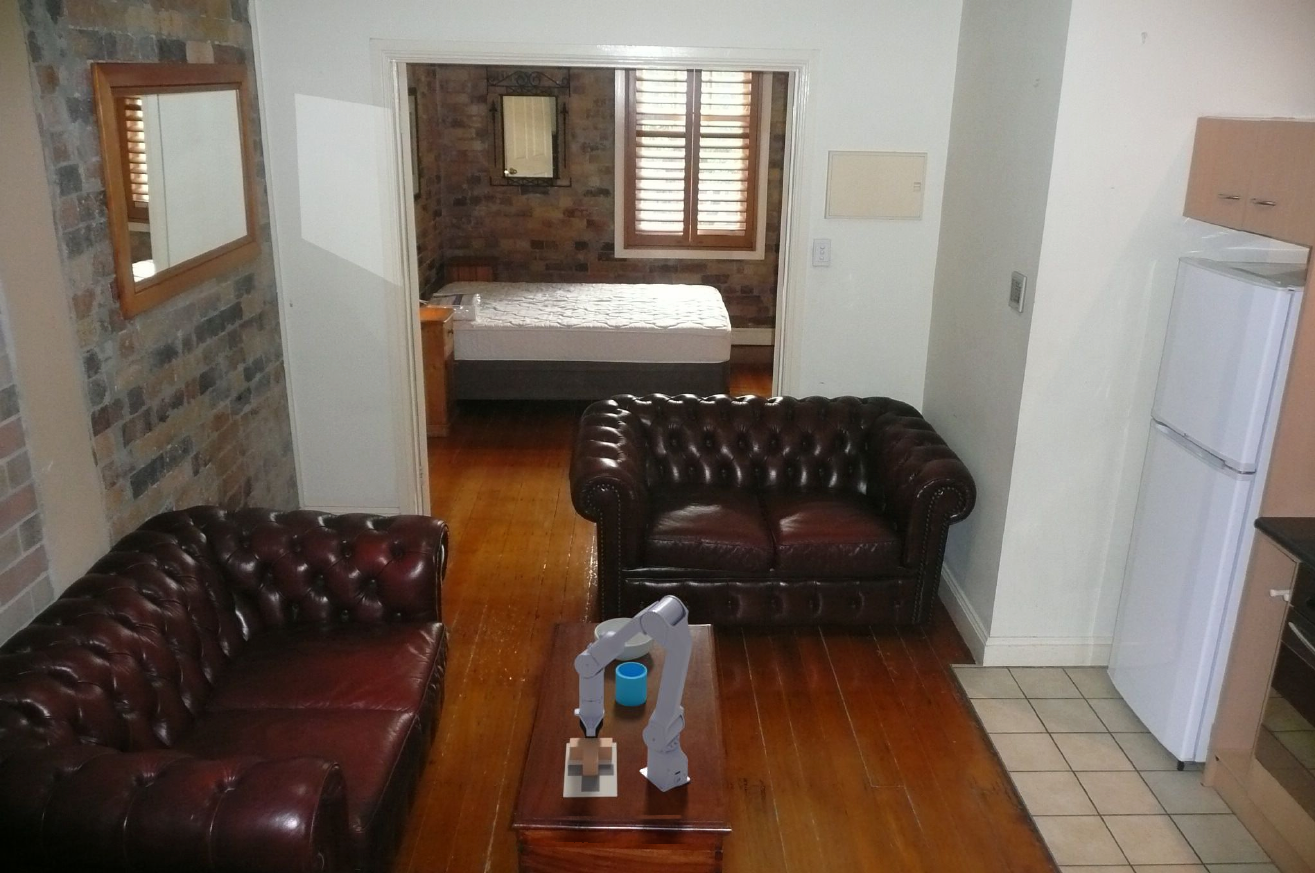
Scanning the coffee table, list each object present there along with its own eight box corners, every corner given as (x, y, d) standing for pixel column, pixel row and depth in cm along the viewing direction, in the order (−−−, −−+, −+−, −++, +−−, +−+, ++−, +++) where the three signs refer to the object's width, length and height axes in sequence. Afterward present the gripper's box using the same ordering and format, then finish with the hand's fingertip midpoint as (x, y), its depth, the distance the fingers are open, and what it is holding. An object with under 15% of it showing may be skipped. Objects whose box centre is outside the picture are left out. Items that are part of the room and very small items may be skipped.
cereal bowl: (665, 649, 291) (665, 627, 289) (633, 675, 278) (633, 652, 275) (616, 632, 300) (616, 611, 297) (582, 657, 286) (582, 634, 284)
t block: (570, 750, 244) (570, 738, 243) (612, 750, 245) (612, 737, 244) (568, 775, 235) (568, 762, 234) (612, 775, 236) (612, 762, 234)
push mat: (566, 745, 247) (566, 743, 247) (616, 744, 248) (616, 742, 248) (563, 799, 228) (563, 796, 228) (617, 798, 229) (617, 796, 229)
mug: (643, 707, 263) (644, 680, 261) (612, 704, 264) (613, 677, 262) (651, 683, 274) (651, 656, 272) (621, 680, 275) (621, 653, 273)
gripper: (575, 678, 248) (575, 726, 252) (573, 712, 234) (573, 762, 238) (604, 678, 248) (604, 726, 252) (604, 712, 234) (603, 762, 239)
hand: (591, 744), depth 245 cm, fingers closed
